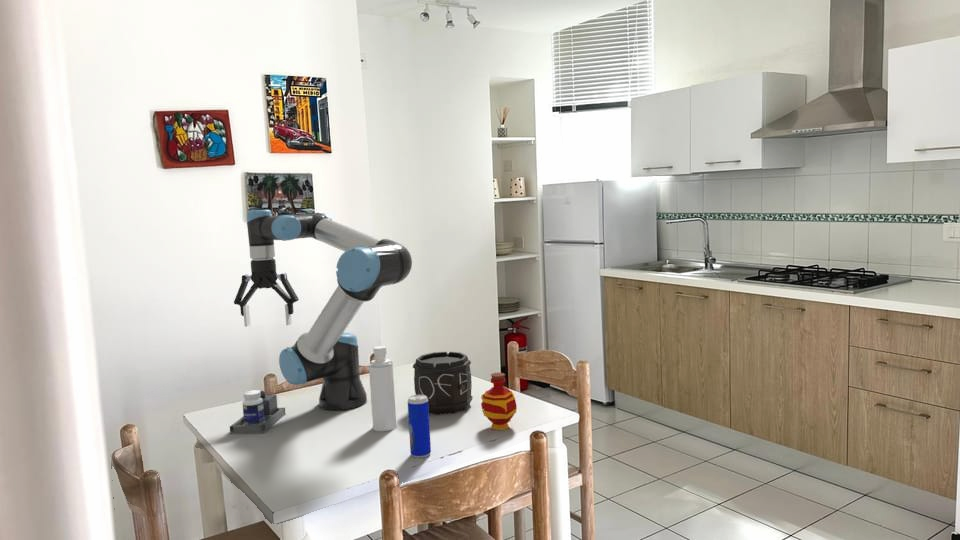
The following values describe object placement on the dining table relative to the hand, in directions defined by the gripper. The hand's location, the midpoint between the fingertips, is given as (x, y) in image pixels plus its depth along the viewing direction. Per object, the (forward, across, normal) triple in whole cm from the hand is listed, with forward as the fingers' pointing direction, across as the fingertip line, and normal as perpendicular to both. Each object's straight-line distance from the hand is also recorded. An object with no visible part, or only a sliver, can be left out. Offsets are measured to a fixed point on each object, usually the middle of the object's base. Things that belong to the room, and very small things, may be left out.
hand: (268, 325), depth 218 cm
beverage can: (+27, -55, +43) cm, 75 cm away
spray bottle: (+27, -41, +22) cm, 54 cm away
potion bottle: (+27, -74, +23) cm, 82 cm away
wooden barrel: (+27, -56, +4) cm, 62 cm away
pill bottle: (+26, -2, +20) cm, 33 cm away
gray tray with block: (+27, -2, +16) cm, 31 cm away
